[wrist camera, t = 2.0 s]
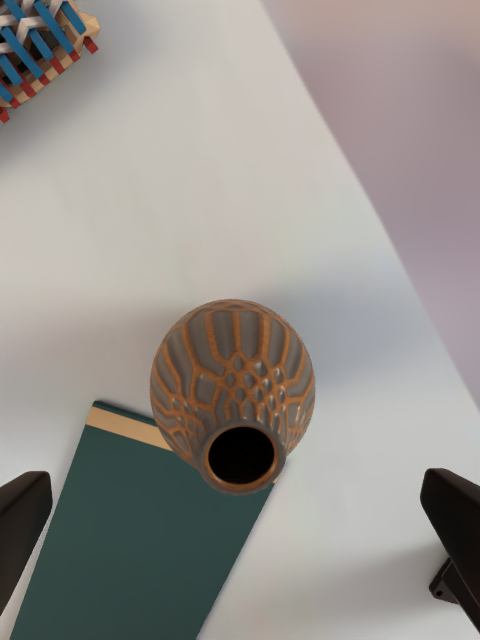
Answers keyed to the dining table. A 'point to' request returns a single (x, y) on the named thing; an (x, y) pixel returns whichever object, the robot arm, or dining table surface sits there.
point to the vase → (233, 393)
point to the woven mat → (39, 45)
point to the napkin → (133, 540)
